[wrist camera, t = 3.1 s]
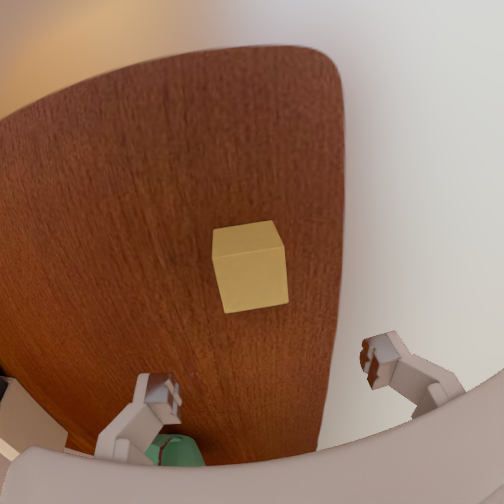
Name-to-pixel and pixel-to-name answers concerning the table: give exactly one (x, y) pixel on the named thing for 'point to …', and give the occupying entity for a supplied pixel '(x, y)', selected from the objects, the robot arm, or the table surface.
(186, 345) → the table surface
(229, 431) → the table surface
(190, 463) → the mug
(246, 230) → the block
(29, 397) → the beige cabinet housing
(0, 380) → the drawer
